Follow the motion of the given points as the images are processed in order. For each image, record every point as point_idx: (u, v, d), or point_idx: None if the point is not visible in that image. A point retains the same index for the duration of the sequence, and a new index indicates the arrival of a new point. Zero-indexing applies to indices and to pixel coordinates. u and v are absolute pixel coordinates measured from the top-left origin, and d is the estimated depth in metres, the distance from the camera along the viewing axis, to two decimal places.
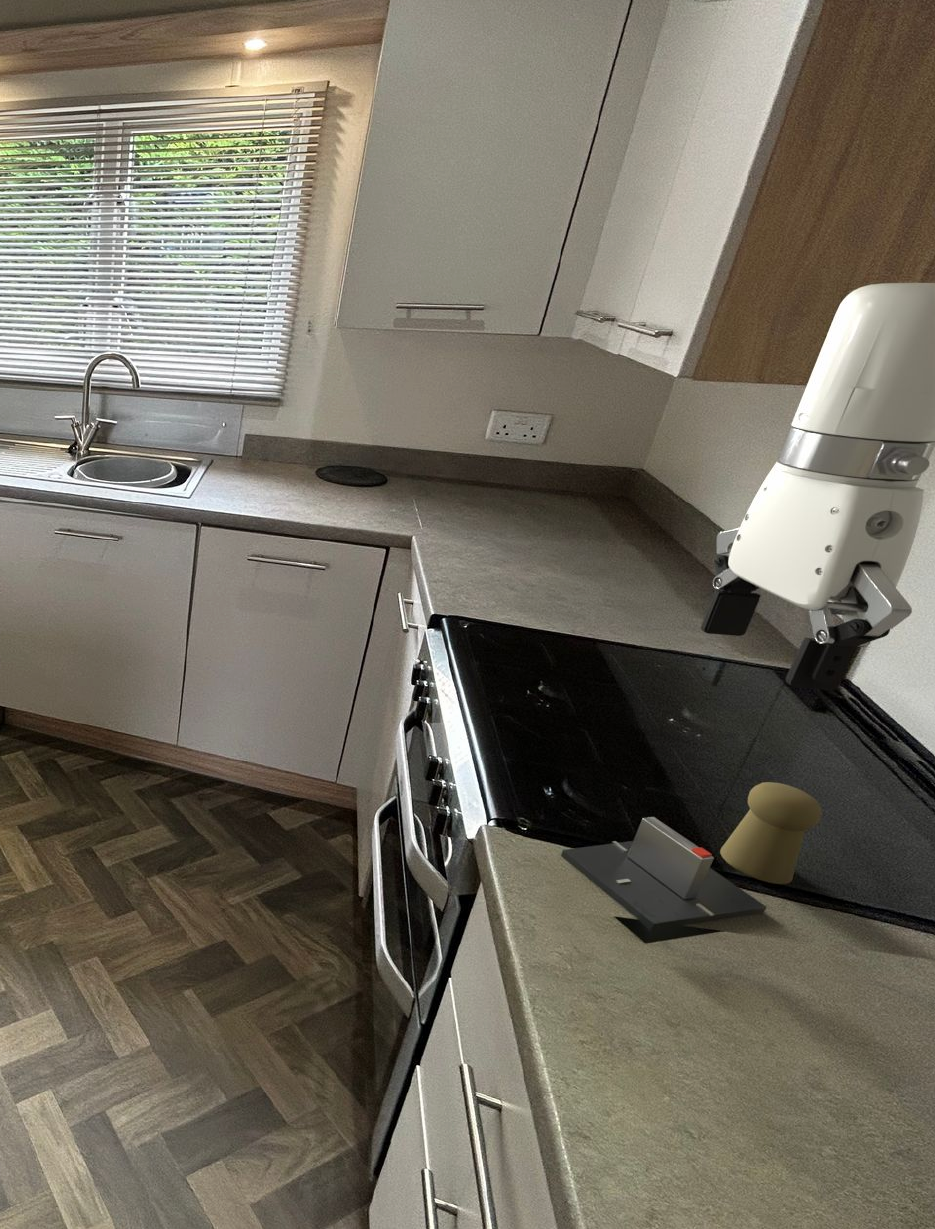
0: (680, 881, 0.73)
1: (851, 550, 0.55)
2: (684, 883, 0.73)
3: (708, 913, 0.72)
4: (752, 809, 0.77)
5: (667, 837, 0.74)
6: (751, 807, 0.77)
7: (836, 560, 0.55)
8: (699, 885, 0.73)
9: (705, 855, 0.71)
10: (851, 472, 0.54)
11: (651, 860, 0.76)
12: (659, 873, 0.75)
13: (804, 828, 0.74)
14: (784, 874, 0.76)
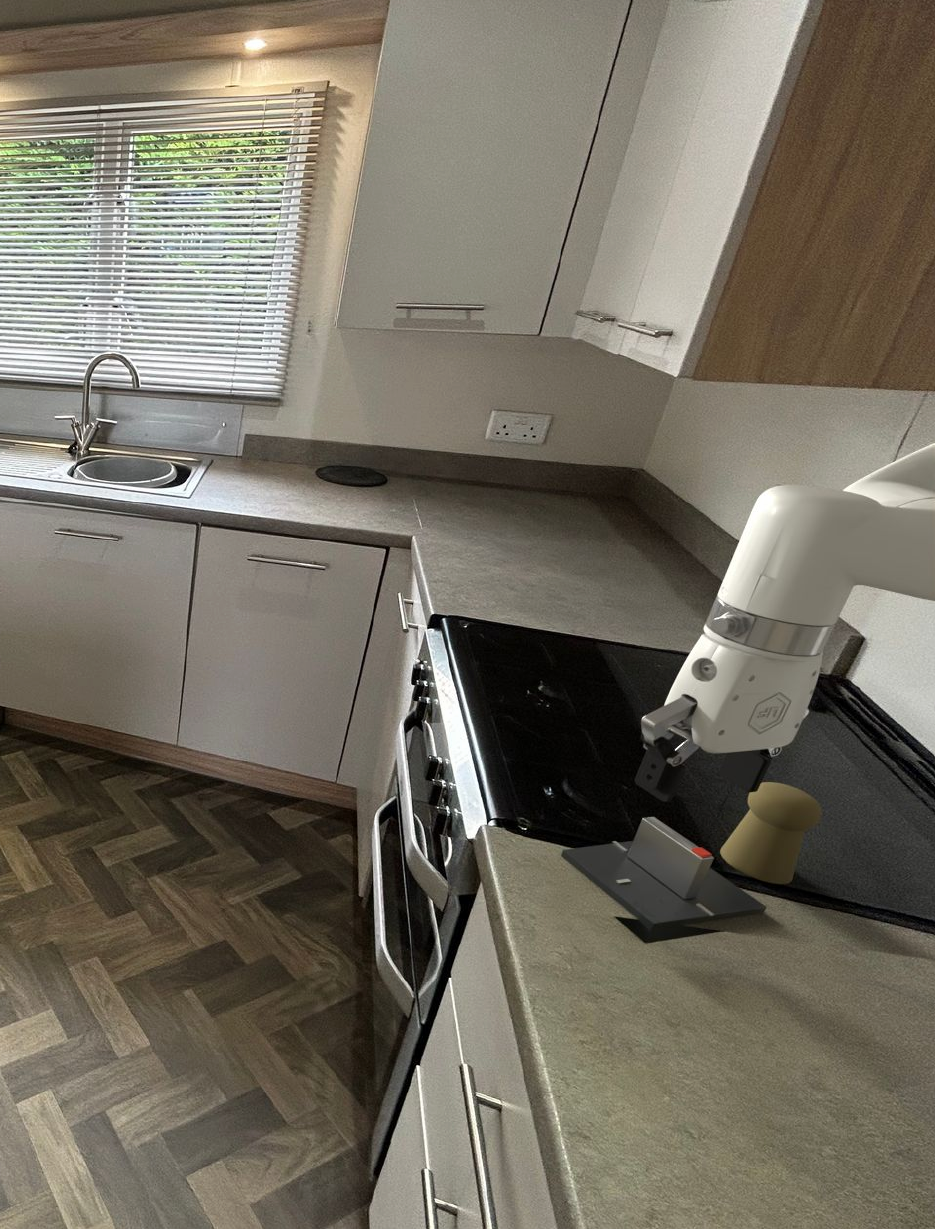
0: (680, 881, 0.73)
1: (680, 682, 0.68)
2: (684, 883, 0.73)
3: (708, 913, 0.72)
4: (752, 809, 0.77)
5: (667, 837, 0.74)
6: (751, 807, 0.77)
7: (672, 687, 0.69)
8: (699, 885, 0.73)
9: (705, 855, 0.71)
10: (709, 624, 0.67)
11: (651, 860, 0.76)
12: (659, 873, 0.75)
13: (804, 828, 0.74)
14: (784, 874, 0.76)
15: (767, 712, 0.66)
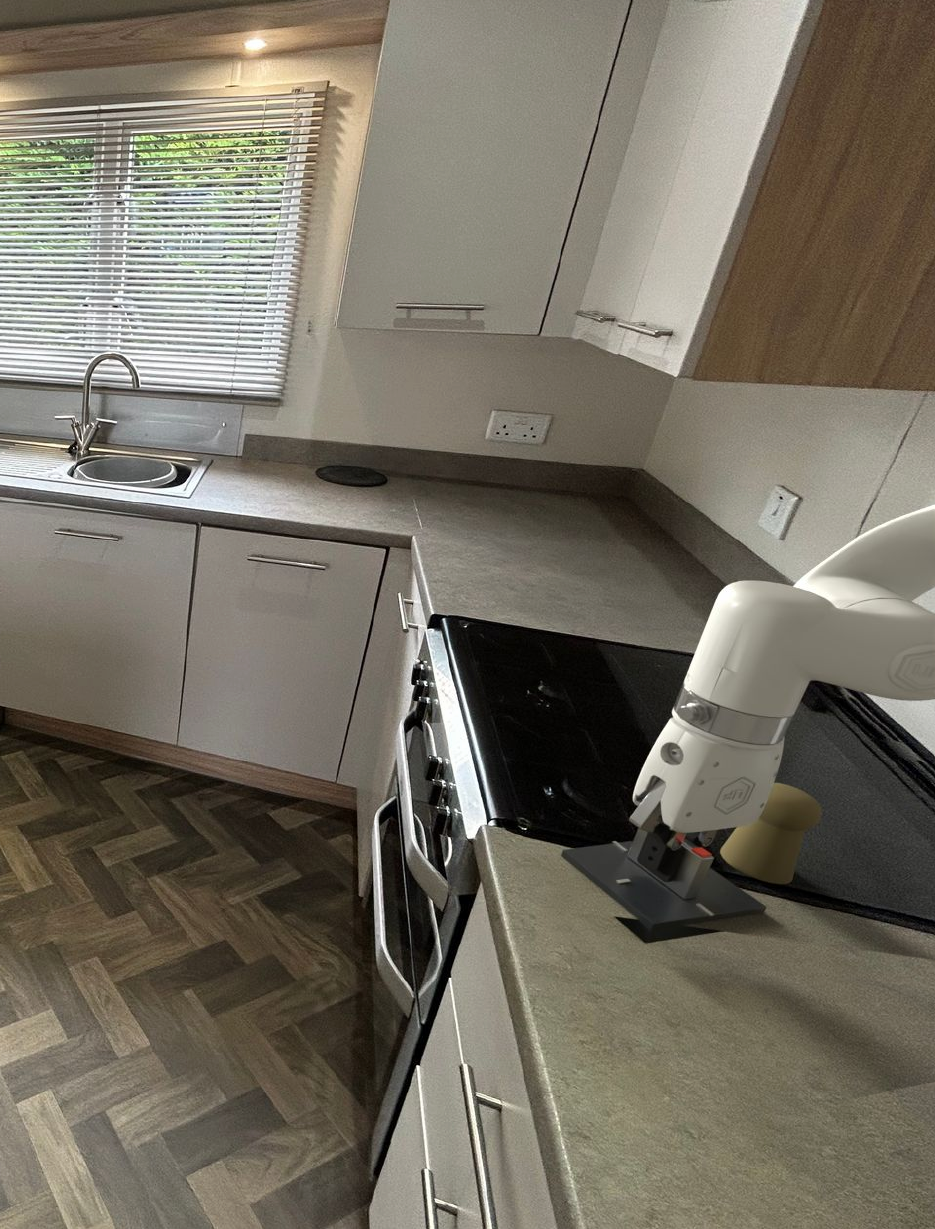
0: (680, 881, 0.73)
1: (650, 763, 0.72)
2: (684, 883, 0.73)
3: (708, 913, 0.72)
4: None
5: None
6: None
7: (643, 767, 0.72)
8: (699, 885, 0.73)
9: (705, 855, 0.71)
10: (677, 709, 0.70)
11: None
12: None
13: (804, 828, 0.74)
14: (784, 874, 0.76)
15: (732, 794, 0.69)
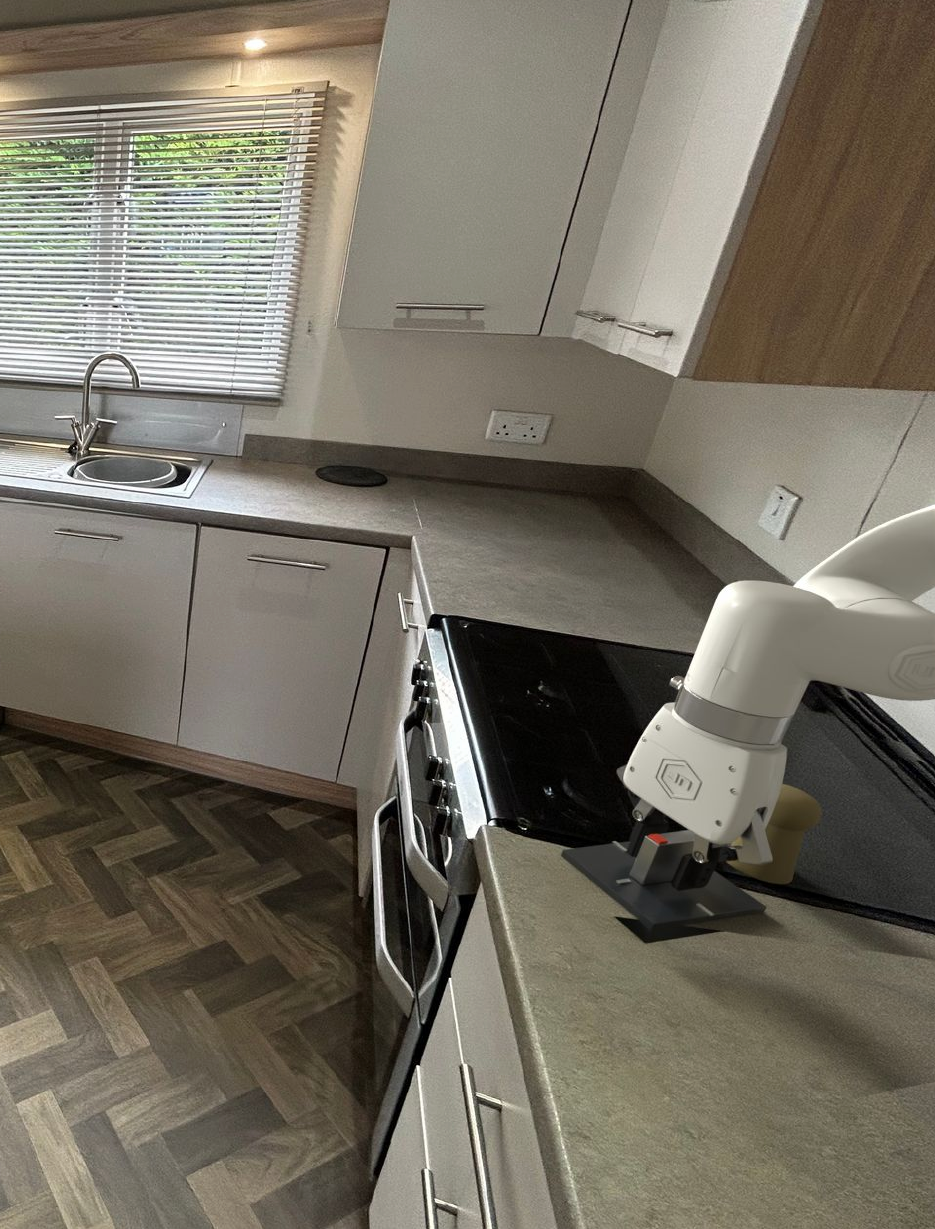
0: None
1: None
2: None
3: (708, 913, 0.72)
4: None
5: None
6: None
7: None
8: (644, 869, 0.74)
9: (652, 837, 0.74)
10: None
11: None
12: None
13: (804, 828, 0.74)
14: (784, 874, 0.76)
15: (676, 777, 0.71)
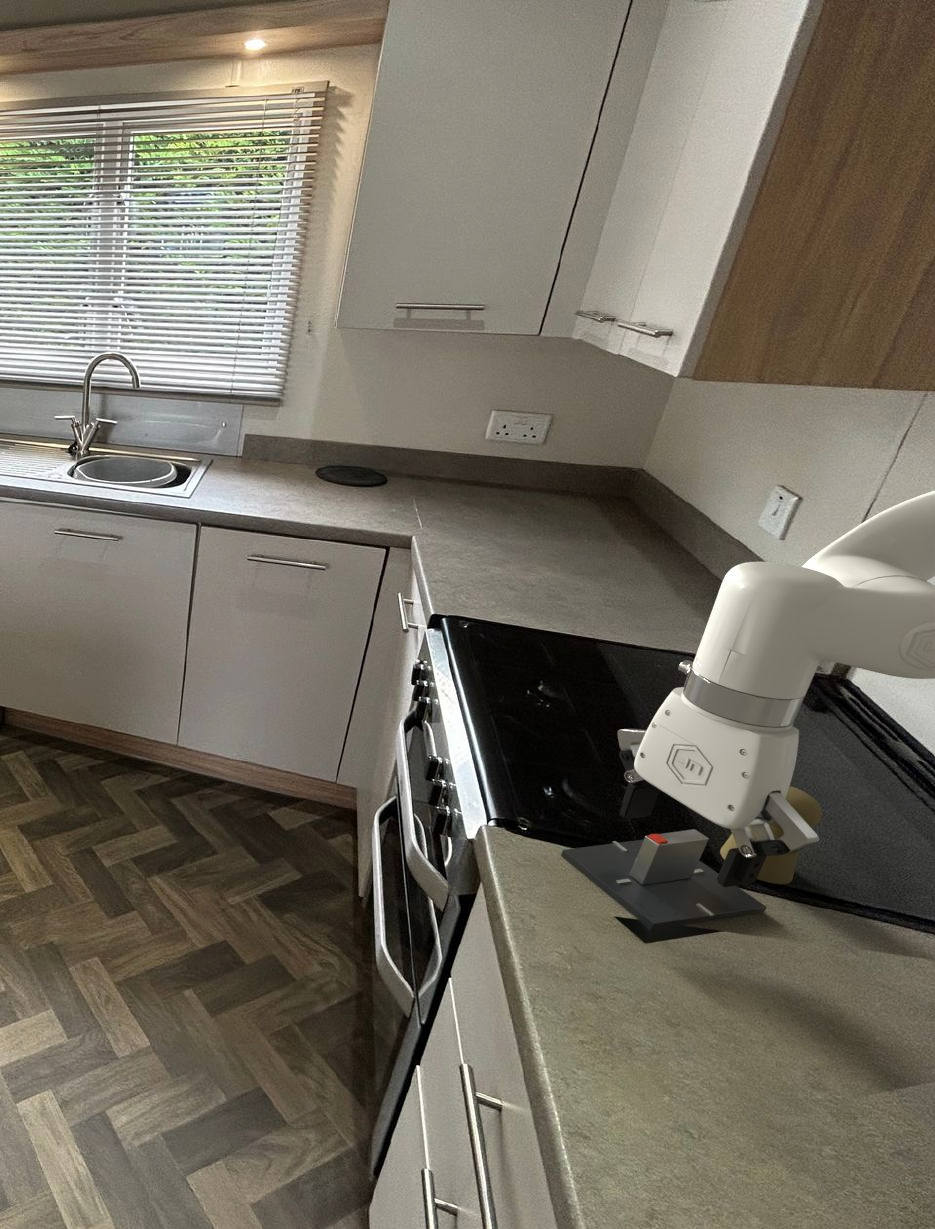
0: None
1: None
2: None
3: (708, 913, 0.72)
4: None
5: None
6: None
7: None
8: (644, 869, 0.74)
9: (652, 837, 0.74)
10: None
11: None
12: None
13: None
14: (784, 874, 0.76)
15: (687, 762, 0.70)
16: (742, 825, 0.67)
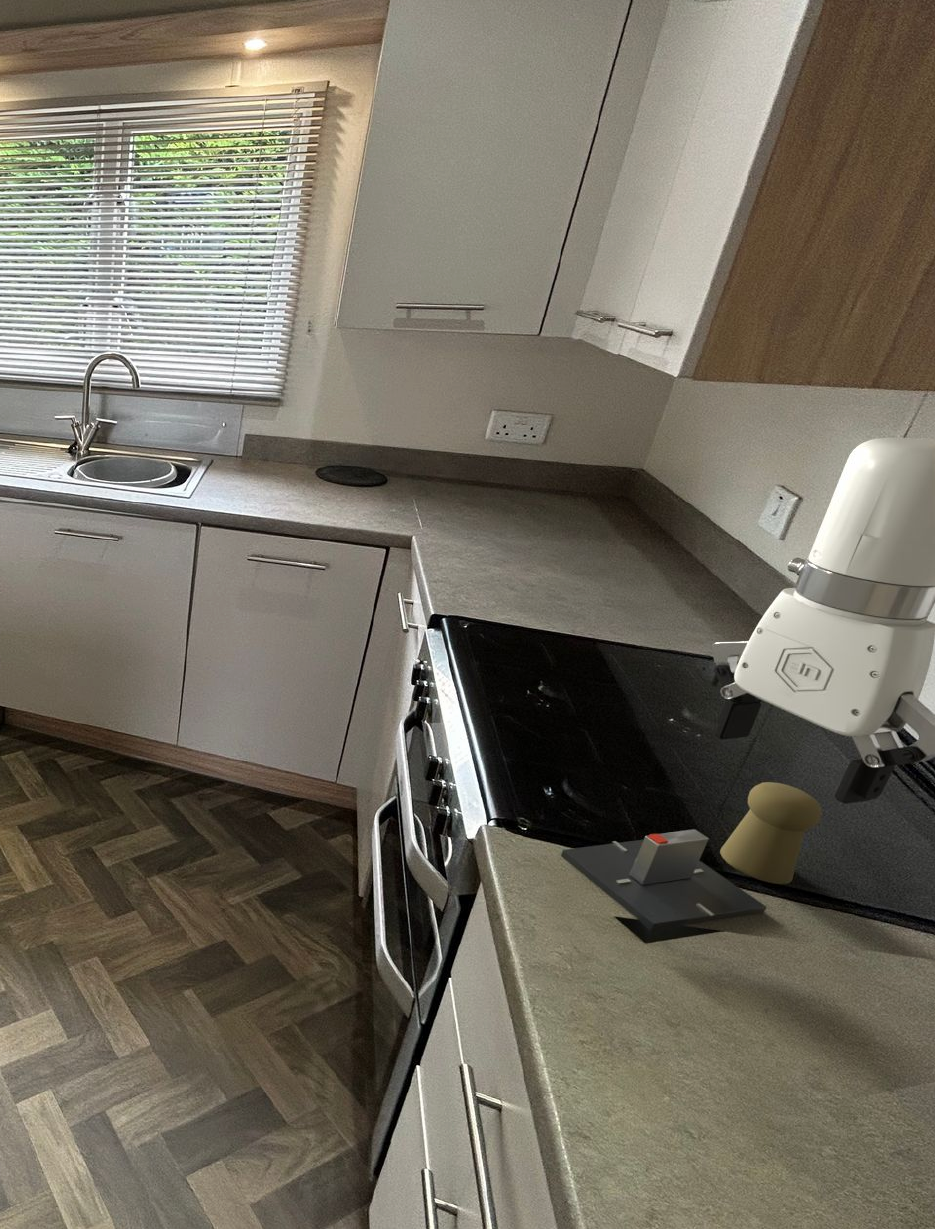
0: None
1: None
2: None
3: (708, 913, 0.72)
4: (752, 809, 0.77)
5: None
6: (751, 807, 0.77)
7: None
8: (644, 869, 0.74)
9: (652, 837, 0.74)
10: None
11: None
12: None
13: (804, 828, 0.74)
14: (784, 874, 0.76)
15: (801, 667, 0.64)
16: (868, 731, 0.60)
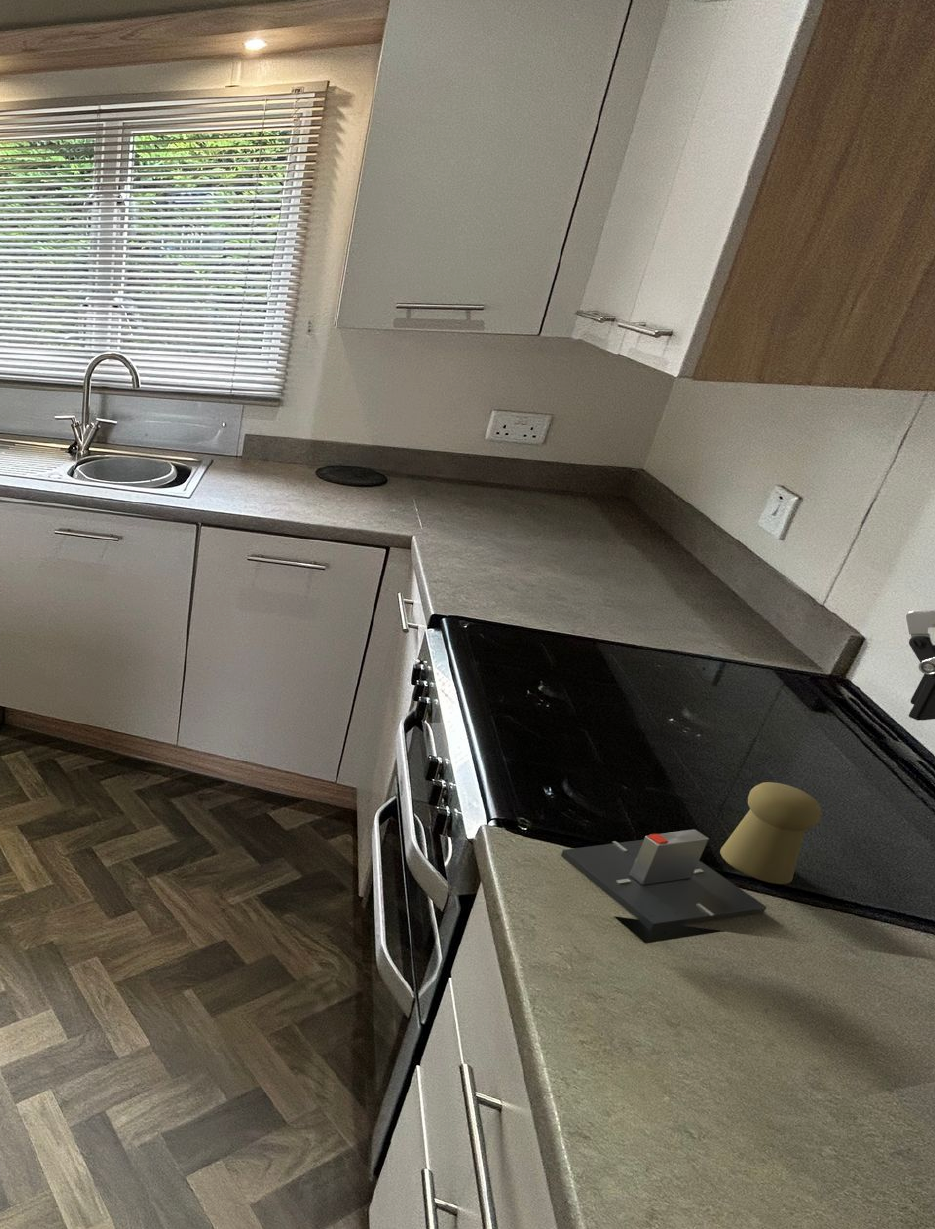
0: None
1: None
2: None
3: (708, 913, 0.72)
4: (752, 809, 0.77)
5: None
6: (751, 807, 0.77)
7: None
8: (644, 869, 0.74)
9: (652, 837, 0.74)
10: None
11: None
12: None
13: (804, 828, 0.74)
14: (784, 874, 0.76)
15: None
16: None
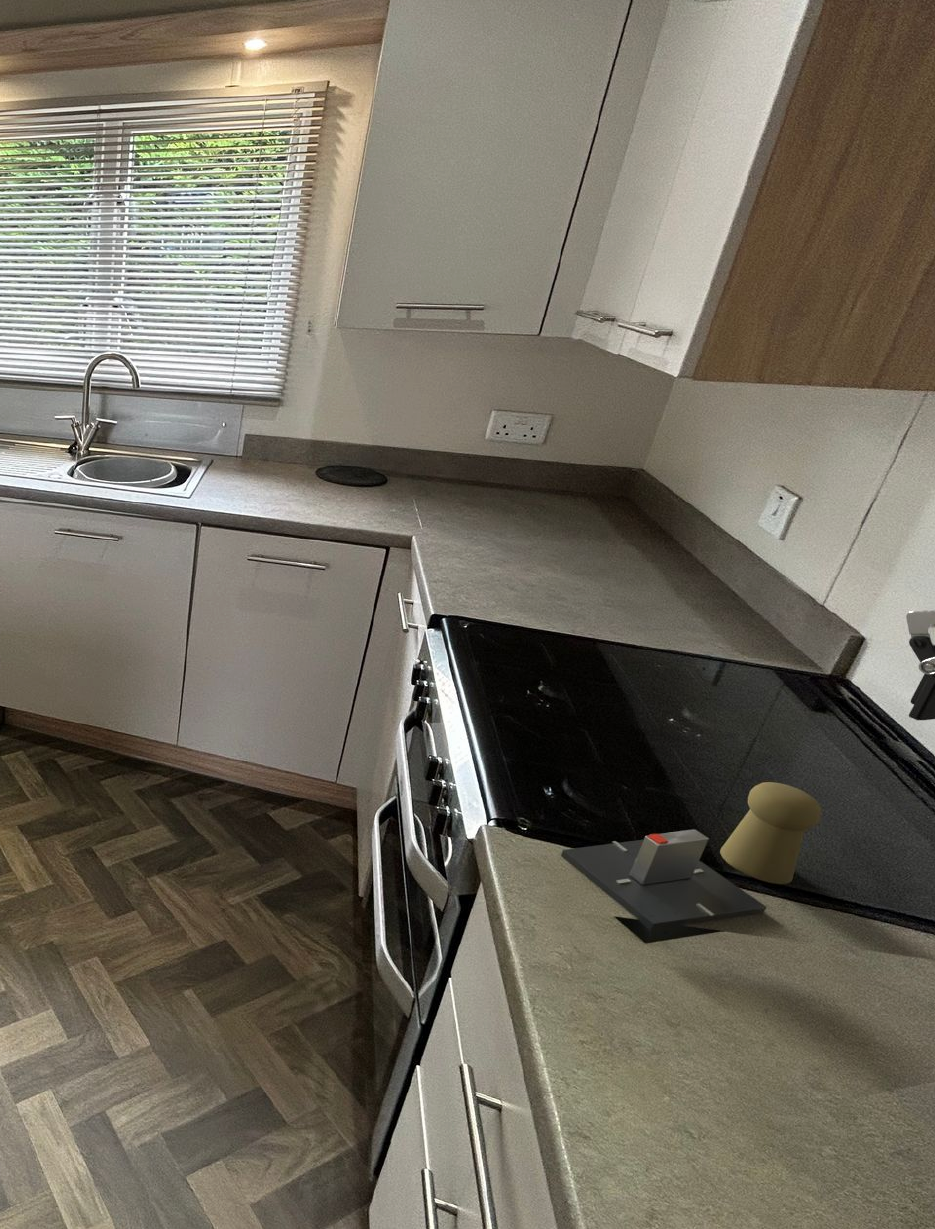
0: None
1: None
2: None
3: (708, 913, 0.72)
4: (752, 809, 0.77)
5: None
6: (751, 807, 0.77)
7: None
8: (644, 869, 0.74)
9: (652, 837, 0.74)
10: None
11: None
12: None
13: (804, 828, 0.74)
14: (784, 874, 0.76)
15: None
16: None
